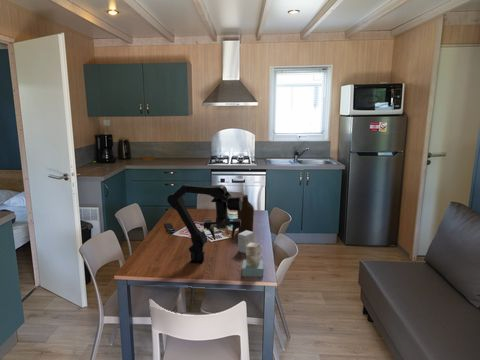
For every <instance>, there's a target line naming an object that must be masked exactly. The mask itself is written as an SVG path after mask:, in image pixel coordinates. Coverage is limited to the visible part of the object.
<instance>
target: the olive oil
mask: <svg viewBox="0 0 480 360" xmlns="http://www.w3.org/2000/svg"><path fill="white" fill-rule="evenodd" d="M241 202H242V209H241V211H236V212H237V219H240V220H241V227H238V234H239V233H241V232H244V231H246V230H247V231H251V232H254V214H255V210H254V206H253V205H252V203H251V202H250V201H249V196H248V194H243V195H242V200H241Z"/></svg>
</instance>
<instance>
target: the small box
mask: <svg viewBox="0 0 480 360" xmlns="http://www.w3.org/2000/svg"><path fill="white" fill-rule="evenodd" d="M250 242H251V243H255V232H254V231H253V232H251V231H247V230H246V231H244V232H241V233H239V232H238V234H237V245H238V246H237V251H238V252H239V253H242V254H245V255H246V246H247V245H248V244H249V243H250Z"/></svg>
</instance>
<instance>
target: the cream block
mask: <svg viewBox="0 0 480 360" xmlns="http://www.w3.org/2000/svg"><path fill="white" fill-rule="evenodd" d="M260 245H261V244H260V243H258V242H257V243H256V242H254V243H251V242H250V243H249V244H248V245H247V246H246V254H245V257H246V258H245V260H246V265H247V266H252V267H256V266H257V265H258V264H259V263H260V260H261V258H260V257H261V255H260V254H261V253H260V252H261V250H260V249H261V248H260V247H261V246H260Z"/></svg>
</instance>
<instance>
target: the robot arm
mask: <svg viewBox="0 0 480 360" xmlns="http://www.w3.org/2000/svg"><path fill="white" fill-rule="evenodd" d="M187 193H188V194H197V195H198V194H199V195H206V196H207V195H208V196H210V197H212V199H211V203H215V221H213V219H205V220H204V222H203V229H206V230H207V231H208V232H210V234H211V236H212V238H213V241H216V233H215V228H214V226H215V227H216V229H217V230H221V229H223V230H224V229H226V228H227V227H228V226H232V229H231V230H232V231H231V240H234V236H235V232H236V230H237V229H238V227H241V220H240V219H238V218H233V219H232V220H231V218H230V217H228V210H229V211H236V212H237V211H241V209H242V199H241V196H232V195H231V193H229V191H228V189H227V187H226V185H223V184H216V185H199V184H189V183H184V184H183V185H181V186H180V187H179V188H178V189H177V190H176V191H175V192H173V193H171V194H169V195H168V197H167V198H166V201H167V203H168V205H169V206H170V207H171V208H172V209H174V211H176V212H177V214H178V215H179V217H180V219H181V221H182V222H183V224H184V226H185V228H186V229H187V231H188V233H189V235H190V241H191V243H192V245H191V246H189V248H188V250H189V252H190V261H189V262H190V264H191V263H192V264H202V263H203V262H204V261H205V255H206V253H205V251H204V247H205V246H206V244H207V243H208V236H207V234H206V233H205V231H204V230H202V231H201V230H200V229H199V228H198V227H197V225H196V223H195V221H194V220H193V218H192V217H191V214H190V213H189V211H188V209H187V207H186V206H185V205H186V204H185V200H184V196H186V194H187Z"/></svg>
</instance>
